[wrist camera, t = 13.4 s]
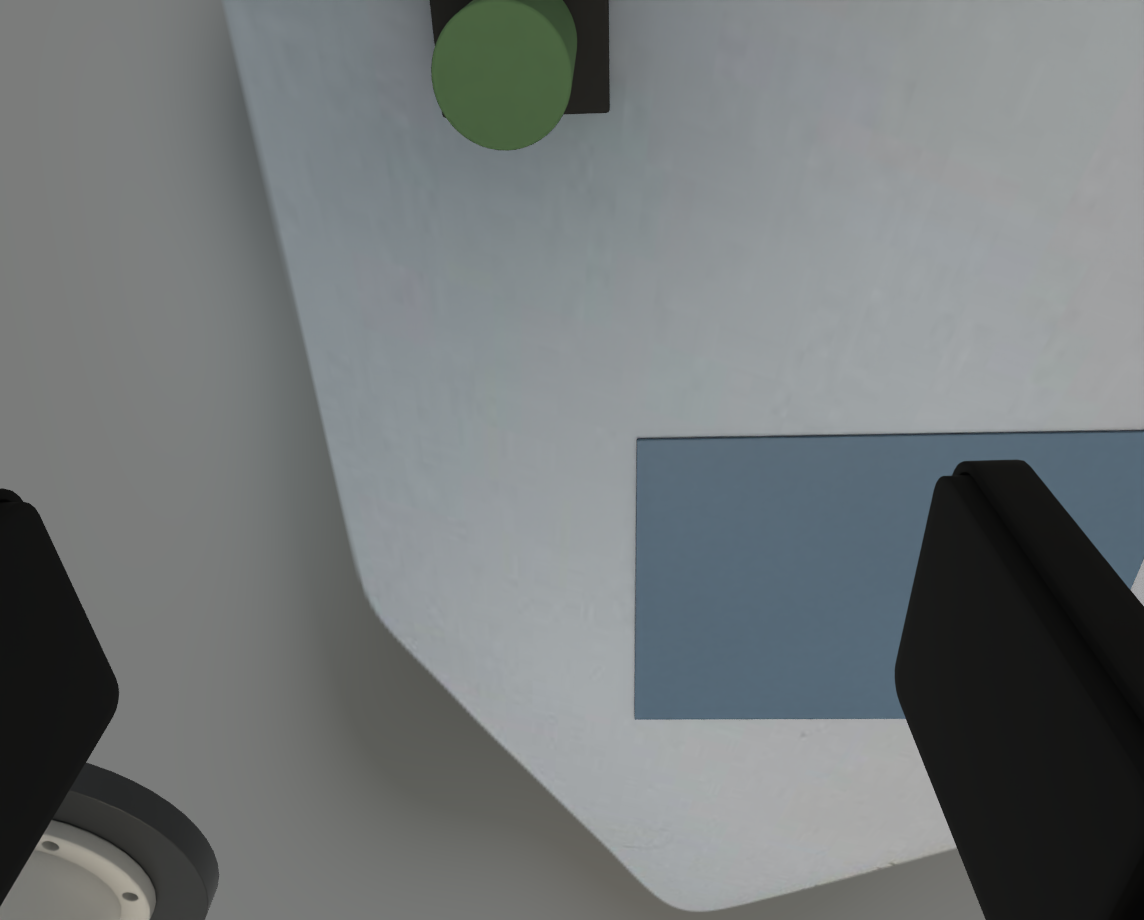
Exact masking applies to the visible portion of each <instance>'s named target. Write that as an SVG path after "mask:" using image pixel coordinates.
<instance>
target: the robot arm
mask: <svg viewBox="0 0 1144 920" xmlns="http://www.w3.org/2000/svg"><path fill="white" fill-rule="evenodd" d="M895 687H896V692H897V696H898V699H899V703H900V705H901V708H902V710H903V713H904V715H905V718H906V720H907V723H908V725H909V728H910V730H911V733H912V735H913V738H914V740H915V743H916V745H917V748H918V750H919V753H920V755H921V758H922V760H923V763H924V765H925V768H926V771H927V773H928V776H929V778H930V781H931V783H932V786H933V788H934V791H935V793H936V796H937V798H938V801H939V803H940V806H941V808H942V811H943V813H944V816H945V818H946V821H947V823H948V826H949V828H950V831H951V833H952V836H953V838H954V841H955V843H956V846H957V849H958V851H959V854H960V856H961V859H962V861H963V863H964V866H965V869H966V871H967V874H968V876H969V879H970V881H971V884H972V886H973V889H974V891H975V894H976V896H977V899H978V901H979V904H980V906H981V909H982V911H983V914H984V916H985V919H986V920H1144V606H1143V605H1142V604H1141V603H1140V601H1139V600H1138V599H1137V598H1136V596H1135V595H1134V594H1133V593H1132V591H1131V590H1130V589H1129V588H1128V586H1127V585H1126V584H1125V583H1124V581H1123V580H1122V579H1121V578H1120V577H1119V575H1118V574H1117V573H1116V572H1115V570H1114V569H1113V568H1112V567H1111V565H1110V564H1109V563H1108V562H1107V560H1106V559H1105V558H1104V557H1103V555H1102V554H1101V553H1100V552H1099V551H1098V549H1097V548H1096V547H1095V546H1094V544H1093V543H1092V542H1091V541H1090V539H1089V538H1088V537H1087V536H1086V534H1085V533H1084V532H1083V531H1082V529H1081V528H1080V527H1079V526H1078V524H1077V523H1076V522H1075V521H1074V520H1073V518H1072V517H1071V516H1070V515H1069V513H1068V512H1067V511H1066V510H1065V508H1064V507H1063V506H1062V505H1061V503H1060V502H1059V501H1058V500H1057V498H1056V497H1055V496H1054V495H1053V494H1052V492H1051V491H1050V490H1049V489H1048V487H1047V486H1046V485H1045V484H1044V482H1043V481H1042V480H1041V479H1040V477H1039V476H1038V475H1037V474H1036V472H1035V471H1034V470H1033V469H1032V467H1031V466H1030V465H1028V464H1027V463H1026V462H1025V461H1023V460H1018V459H1016V460H981V461H963V462H961V463H959V464H958V465H957V466H956V468H955V469H954V471H953V474H952V476H942V477H940V478H939V479H938V481H937V482H936V485H935V488H934V492H933V496H932V501H931V505H930V510H929V514H928V519H927V523H926V528H925V532H924V537H923V541H922V546H921V550H920V555H919V559H918V564H917V568H916V573H915V577H914V582H913V586H912V591H911V595H910V600H909V604H908V609H907V613H906V618H905V623H904V627H903V632H902V636H901V641H900V645H899V650H898V654H897V659H896V663H895ZM118 698H119V689H118V683H117V680H116V678H115V675H114V673H113V671H112V669H111V667H110V665H109V663H108V660H107V658H106V656H105V654H104V652H103V650H102V648H101V646H100V643H99V641H98V639H97V637H96V635H95V633H94V630H93V628H92V626H91V624H90V622H89V620H88V618H87V616H86V613H85V611H84V609H83V607H82V605H81V603H80V601H79V598H78V596H77V594H76V592H75V590H74V588H73V586H72V583H71V581H70V579H69V577H68V575H67V573H66V571H65V569H64V566H63V564H62V562H61V560H60V558H59V556H58V554H57V551H56V549H55V547H54V545H53V543H52V541H51V539H50V536H49V534H48V532H47V530H46V528H45V526H44V524H43V521H42V519H41V517H40V515H39V514H38V512H37V510H36V509H35V508H34V507H33V506H32V505H31V504H29V503H26V502H23V501H22V499H21V498H20V497H19V496H18V495H17V494H16V493H14V492H13V491H11V490H6V489H0V920H150V918H151V916H152V914H153V912H154V908H155V904H156V895H155V889H154V887H153V885H152V882H151V880H150V878H149V876H148V875H147V874H146V873H145V871H144V870H143V869H142V867H141V866H140V865H139V864H138V863H137V862H136V861H135V860H134V859H132V858H131V857H130V856H129V855H128V854H127V853H126V852H124V851H123V850H121V849H119V848H118V847H116V846H115V845H113V844H112V843H110V842H109V841H107V840H105V839H103V838H101V837H99V836H97V835H95V834H93V833H91V832H89V831H86V830H83V829H81V828H78V827H75V826H73V825H70V824H67V823H64V822H60V821H56V820H52V819H53V817H54V815H55V814H56V812H57V810H58V809H59V807H60V805H61V803H62V802H63V800H64V798H65V797H66V795H67V793H68V792H69V790H70V788H71V787H72V785H73V783H74V782H75V780H76V778H77V776H78V775H79V773H80V771H81V770H82V768H83V766H84V765H85V763H86V761H87V760H88V758H89V756H90V755H91V753H92V751H93V750H94V748H95V746H96V744H97V743H98V741H99V739H100V738H101V736H102V734H103V733H104V731H105V729H106V728H107V726H108V724H109V723H110V721H111V719H112V717H113V715H114V713H115V711H116V708H117V704H118Z"/></svg>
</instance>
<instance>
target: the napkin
mask: <svg viewBox="0 0 1144 920" xmlns="http://www.w3.org/2000/svg"><path fill="white" fill-rule="evenodd" d="M1016 459H1018V460H1023V461H1025V462H1026V463H1027V464H1028V465H1030V466H1031V467H1032V469H1033V470H1034V471H1035V472H1036V474H1037V475H1038V476H1039V477H1040V479H1041V480H1042V481H1043V482H1044V484H1045V485H1046V486H1047V487H1048V489H1049V490H1050V491H1051V492H1052V494H1053V495H1054V496H1055V497H1056V498H1057V500H1058V501H1059V502H1060V503H1061V505H1062V506H1063V507H1064V508H1065V510H1066V511H1067V512H1068V513H1069V515H1070V516H1071V517H1072V518H1073V520H1074V521H1075V522H1076V523H1077V524H1078V526H1079V527H1080V528H1081V529H1082V531H1083V532H1084V533H1085V534H1086V536H1087V537H1088V538H1089V539H1090V541H1091V542H1092V543H1093V544H1094V546H1095V547H1096V548H1097V549H1098V551H1099V552H1100V553H1101V554H1102V555H1103V557H1104V558H1105V559H1106V560H1107V562H1108V563H1109V564H1110V565H1111V567H1112V568H1113V569H1114V570H1115V572H1116V573H1117V574H1118V575H1119V577H1120V578H1121V579H1122V580H1123V581H1124V583H1125V584H1126V585H1127V586H1128V588H1129V589H1130V590H1131V587H1132V585H1133V583H1134V580H1135V578H1136V576H1137V573H1138V571H1139V569H1140V566H1141V564H1142V562H1143V559H1144V431H1102V432H1041V433H980V434H918V435H857V436H796V437H735V438H673V439H637V506H636V623H635V719H906V718H905V715H904V713H903V710H902V708H901V705H900V703H899V699H898V696H897V692H896V687H895V663H896V659H897V654H898V650H899V645H900V641H901V636H902V632H903V627H904V623H905V618H906V613H907V609H908V604H909V600H910V595H911V591H912V586H913V582H914V577H915V573H916V568H917V564H918V559H919V555H920V550H921V546H922V541H923V537H924V532H925V528H926V523H927V519H928V514H929V510H930V505H931V501H932V496H933V492H934V488H935V485H936V482H937V481H938V479H939V478H940V477H942V476H952V474H953V471H954V469H955V468H956V466H957V465H958V464H959V463H961V462H963V461H981V460H1016Z"/></svg>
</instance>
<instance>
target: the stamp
mask: <svg viewBox="0 0 1144 920" xmlns="http://www.w3.org/2000/svg"><path fill="white" fill-rule="evenodd" d="M430 7H431V16H432V25H433V34H434V43H435V48H434V52H433V57H432V67H431V73H432V83H433V89H434V93H435V96H436V99H437V102H438V104H439V106H440V108H441V110H442V115H443V117H445V118H447V120H448V121H449V122H450V124H451V125H452V126H453V127H454V128H455V129H456V130H457V131H458V132H459V133H460V134H462V135H463V136H464V137H466V138H467V139H469V140H470V141H472V142H474V143H476V144H478V145H480V146H483V147H486V148H489V149H495V150H516V149H520V148H524V147H527V146H529V145H532V144H534V143H536V142H537V141H539V140H541V139H542V138H543V137H545V136H546V135H547V134H548V133H549V132H550V131H551V130H552V129H553V128H554V127H555V126H556V125H557V123H558V122H559V121H560V119H561V117H562V116H563V114H586V113H607V112H609V110H610V101H609V3H608V0H430Z"/></svg>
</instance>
